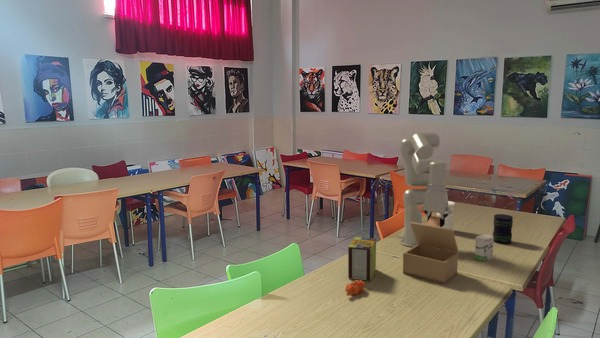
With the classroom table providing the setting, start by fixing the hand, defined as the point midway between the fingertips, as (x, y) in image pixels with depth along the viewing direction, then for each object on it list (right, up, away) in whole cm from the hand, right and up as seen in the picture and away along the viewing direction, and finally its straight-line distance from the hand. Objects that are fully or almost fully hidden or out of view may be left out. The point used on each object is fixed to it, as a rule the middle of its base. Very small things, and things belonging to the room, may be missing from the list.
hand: (435, 225), depth 209 cm
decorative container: (+26, -12, +66) cm, 72 cm away
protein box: (-35, -23, 0) cm, 42 cm away
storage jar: (+51, -15, +44) cm, 69 cm away
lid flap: (-1, -6, 0) cm, 6 cm away
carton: (-3, -23, 0) cm, 23 cm away
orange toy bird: (-41, -27, -20) cm, 53 cm away
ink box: (+30, -20, +18) cm, 40 cm away
